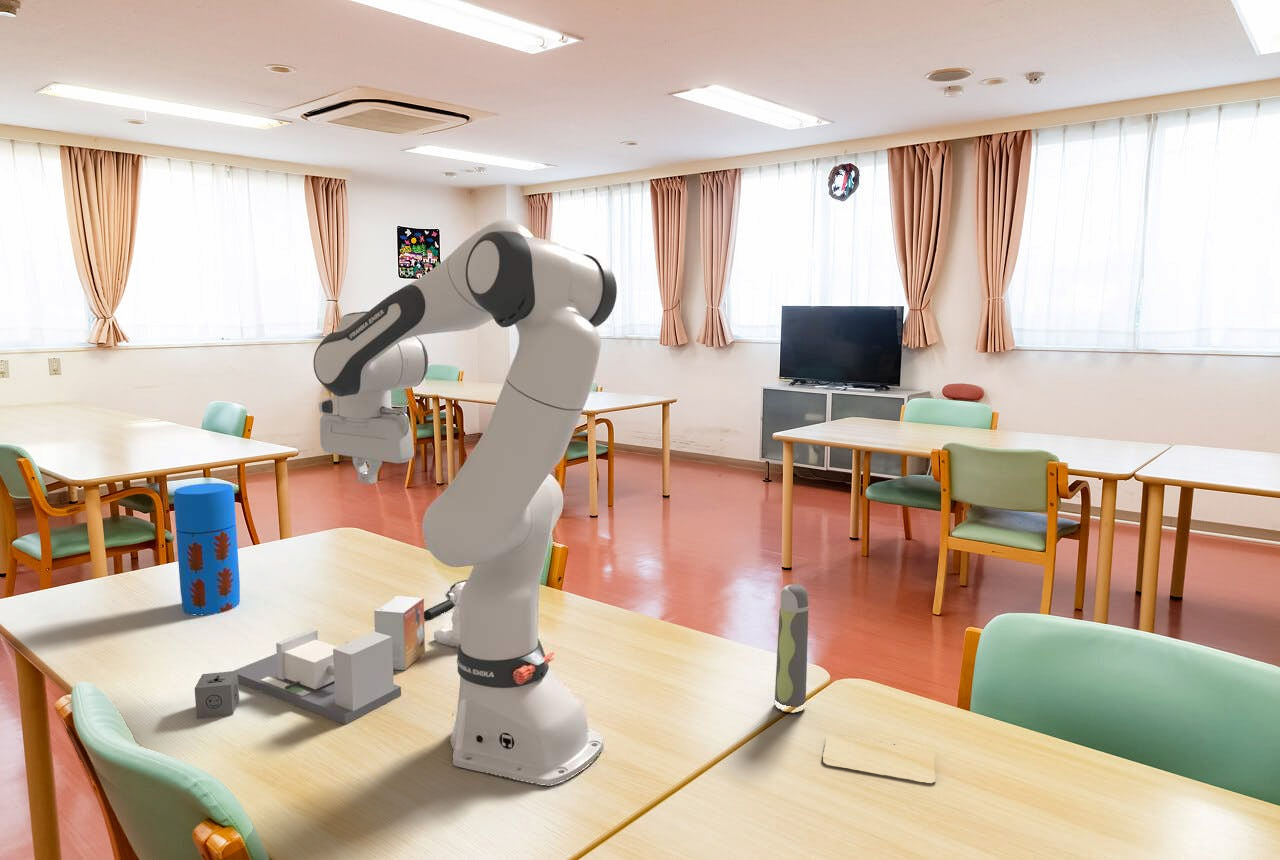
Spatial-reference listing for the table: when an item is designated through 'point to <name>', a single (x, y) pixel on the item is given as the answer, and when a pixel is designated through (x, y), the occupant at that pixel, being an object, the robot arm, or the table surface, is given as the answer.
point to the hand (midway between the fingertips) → (367, 482)
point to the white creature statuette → (446, 634)
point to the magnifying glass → (440, 607)
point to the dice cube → (217, 694)
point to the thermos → (207, 548)
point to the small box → (403, 628)
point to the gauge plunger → (305, 660)
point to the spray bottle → (792, 647)
